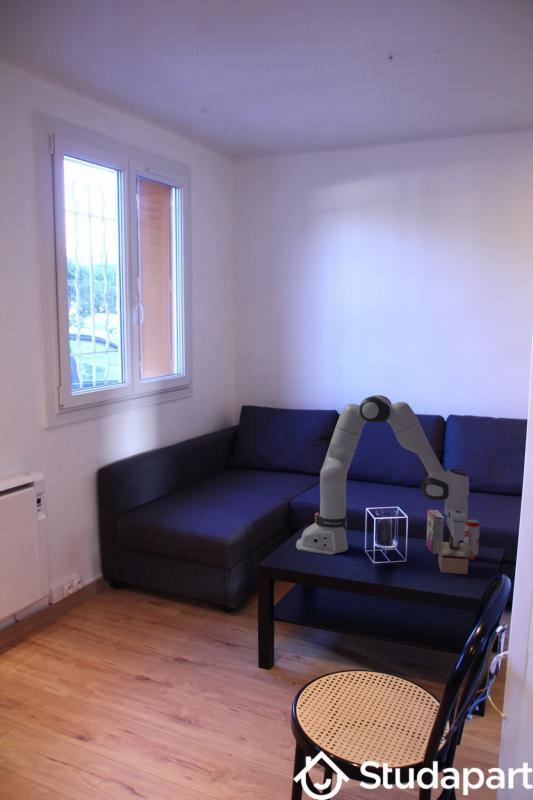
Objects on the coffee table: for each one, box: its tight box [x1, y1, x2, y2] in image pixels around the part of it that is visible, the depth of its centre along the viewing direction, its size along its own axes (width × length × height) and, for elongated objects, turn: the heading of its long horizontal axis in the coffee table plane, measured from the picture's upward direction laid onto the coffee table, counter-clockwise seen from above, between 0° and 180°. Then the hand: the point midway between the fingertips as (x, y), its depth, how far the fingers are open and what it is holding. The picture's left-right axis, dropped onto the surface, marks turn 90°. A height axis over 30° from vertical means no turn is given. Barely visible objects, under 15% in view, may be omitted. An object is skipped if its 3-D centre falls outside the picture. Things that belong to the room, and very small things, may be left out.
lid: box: [435, 536, 474, 557], centre depth 251 cm, size 13×13×5 cm
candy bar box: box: [425, 509, 446, 556], centre depth 271 cm, size 11×5×16 cm, turn 179°
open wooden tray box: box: [437, 555, 469, 575], centre depth 252 cm, size 10×10×6 cm
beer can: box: [462, 518, 481, 561], centre depth 263 cm, size 6×6×16 cm
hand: (454, 544), depth 251 cm, fingers closed on lid, 3 cm apart
